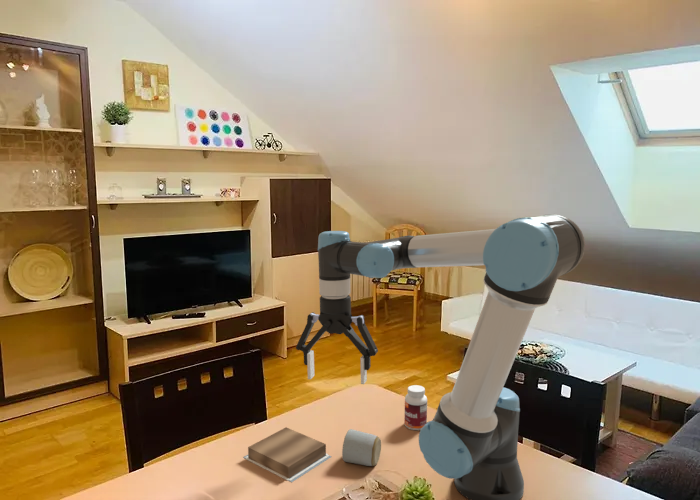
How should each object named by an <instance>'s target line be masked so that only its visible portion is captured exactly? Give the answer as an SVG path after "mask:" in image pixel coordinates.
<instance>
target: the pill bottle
mask: <svg viewBox="0 0 700 500" xmlns="http://www.w3.org/2000/svg"><path fill="white" fill-rule="evenodd" d="M425 393H426V389H425V387H424V386H422V385H417V384H414V385H410V386H408V387H407V394H406V395H405V397H404V419H403V420H404V422H403V423H404V427H405V428H407V429H409V430H412V431H420V430H421V429H422V427H423V426H424V425H425V424H426V423H427V420H428V398H427V395H425Z"/></svg>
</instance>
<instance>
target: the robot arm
mask: <svg viewBox="0 0 700 500" xmlns="http://www.w3.org/2000/svg"><path fill="white" fill-rule="evenodd" d="M317 242H318V243H317V252H318V253H317V255H318V258H317V259H318V277H319V278H318V280H319V282H318V284H319V287H318V288H319V290H318V291H319V295H320V296H319V314H318V313H317V314H316V313H315V311H314V312H312V311H311V313H309V314H307V319H306V324H305V327H304V329H303V330H302V333H301V335H300V337H299V340H298V342H297V344H296V346H295V349H296V350H297V351H301V352H302V353H303V364H304V366H307V380H312V379H313V378H314V377H315V353H314V350H312V349H313V347H314V346H315V345H316V343H317V342H318V341H320V339H321V338H322V336H323V335H324V334H325V333H326V332H327V333H328V334H336V335H342V334H344V335H345V337H347V338H348V339H349V341H350V342H351V343H352V344H353V346H354V347H356V349H357V350H358V351H359V353H360V354H361V355H362V356H360V385H365V383H366V382H367V381H368V380H367V379H368V374H367V373H368V372H367V371H369V370H370V368H371V357H375V356H376V355H377V353H378V352H379V350H378V347H377V345H376V343H375V341H374V339H373V337H372V335H371V333H370V331H369V329H368V326H367V325H366V321H365V316H364V315H363V314H361V315H358V316H353V314H352V301H351V300H352V297H351V296H350V294H351V291H352V290H351V275H356V276H361V277H366V278H369V279H373V278H376V279H383V278H386V277H387V276H388V274H389V273H391V272H392V271H395V270H401V269H414V268H415V269H416V268H417V269H418V268H435V267H436V268H437V267H439V268H441V267H467V266H470V267H473V266H474V267H475V266H478V267H479V266H485V275H484V277H483V282H484V285H485V287H486V288H487V291H488V292H487V295H486V297H485V300H484V303H483V306H482V308H481V310H480V314H479V316H478V319H477V322H476V325H475V328H474V330H473V332H472V333H473V334H472V335H471V338H470V341H469V343H468V346H467V347H468V348H467V350H466V352H465V356H464V358H463V361H462V364H461V365H460V368H459V371H458V374H457V377H456V380H455V381H454V386H453V388H452V390H451V392H447V393H445V394H444V395H442V397H441V398H440V401H439V403H438V406H437V410H436V411H435V415H434V417H433V418H432V420H429V421H428V422H427V423H426V424H425V425H424V426H423V427H422V429H421V430H419V433H418V434H419V435H418V445H419V450H420V452H421V453H422V455H423V458H424V460H425V462H426V463H427V464H428V465H429V467H431V469H432V470H433V471H434V472H436V473H437V474H438V475H440V476H441V477H444V478H447V479H454V485H455V488H456V490H457V491H458V492H459V493H460V495H462V496H463V497H465V498H466V499H468V500H521V499H522V497H523V495H524V492H525V490H524V489H525V482H524V477H523V476H524V475H523V474H522V470H521V467H520V464H519V463H520V462H519V459H518V442H519V440H518V439H519V427H520V426H519V425H520V412H521V408H520V398H519V396H518V395H517V394H516V393H515V391H514V390H511V389H510V388H507V387H504V386H505V384H506V383H507V379H508V376H509V374H510V371H511V370H512V366H513V364H514V362H515V360H516V357H517V354H518V352H519V349H520V346H521V344H522V342H523V340H524V337H525V335H526V332H527V329H528V327H529V325H530V323H531V320H532V317H533V314H534V312H535V310H536V309H537V308H539V307H543V306H545V305H547V304H548V302H549V300H550V298H551V295H552V293H553V290H554V288H555V285H556V283H557V280H558V279H559V277H561V276H564V275H566V274H568V273H570V272H571V271H573V270H574V269H575V268H576V267H577V266H578V265H579V264H580V263H581V261H582V259H583V257H584V254H585V248H586V242H585V236H584V235H583V232H582V230H581V229H580V227H579V226H578V224H576V222H574V221H573V220H572V219H570V218H568V217H565V216H563V215H559V214H555V213H554V214H543V215H538V216H533V217H530V216H529V217H527V216H526V217H518V218H514V219H512V220H510V221H508V222H506V223H503V224H501V225H500V226H498V227H497V228H490V229H478V230H470V231H469V230H468V231H459V232H458V231H456V232H447V233H446V232H445V233H444V232H443V233H433V234H423V235H403V236H402V235H401V236H399V237H393V238H388V239H382V240H374V241H367V242H360V241H352V240H351V238H350V232H348V231H345V230H329V231H328V230H327V231H323V232H321V233H319V235H318V240H317ZM317 321H319V323H320V325H322V326H321V328H320V329H319V330H318V331H317V332H316V333H315V335H314V336H313V337H312V338H311V340H309V342H308V343H307V344H306V342H307V340H308V338H309V336H310V334H311V331H312V329H313V328H314V325H315V323H317ZM352 323H354V326H357V328H358V329H357V330H358V331H359V333H360V335H361V337H359V335H358V334H357V333H356V332H355V330H354V328H353V327H352ZM361 338H362V339H363V340H362V339H361Z"/></svg>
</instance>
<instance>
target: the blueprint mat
mask: <svg viewBox="0 0 700 500" xmlns="http://www.w3.org/2000/svg"><path fill="white" fill-rule="evenodd" d="M242 458H244V459H245V460H247V462H248V461H249V462H251V463H252V464H254V465H256V466H259V467H260V468H262V469H264V470H267V471H269V472H270V473H272V474H275V475H276V476H278V477H280V478H282V479H284V480H286V481H288V482H290V483H293V482H294V481H296V480H298V479H299V478H301V477H302V476H304V475H306V474H307V473H309V472H310V471H312V470H313V469H315V468H316V467H319V466H320V465H321V464H323V463H324V462H326V461H327V460H329V459H331V458H332V456H331V455H329V454H328V453H327V452H326V456H324V457H322V458H321V459H319V460H318V461H316V462H315V463H313V464H311V465H310V466H308V467H307V468H305V469H303V470H302V471H300V472H299V473H297V474H296V475H294V476H292V477H291V478H287V477H285V476H283V475H281V474H279V473H277V472H275V471H273V470H271V469H269V468H267V467H265V466H263V465H261V464H259V463H257V462H255V461H253V460H251V459H249V458H248V454H246V455H244V456H243V457H242Z"/></svg>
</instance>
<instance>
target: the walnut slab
mask: <svg viewBox="0 0 700 500" xmlns="http://www.w3.org/2000/svg"><path fill="white" fill-rule="evenodd" d="M326 445H327V444H326V443H324V442H322V441H319V440H318V439H315V438H313V437H310V436H308V435H305V434H303V433H300V432H299V431H296V430H295V429H292V428H289V427H287V426H286V427H284V428H282V429H280V430H278V431H276V432H274V433H273V434H270V435H269V436H267V437H265V438H263V439H261V440H260V441H257V442H255V443H254V444H251V445H250V446H248V447H247V452H248V454H247V455H248V458H249V459H251V460H253V461H255V462H257V463H259V464H261V465H263V466H265V467H267V468H269V469H271V470H273V471H275V472H277V473H279V474H281V475H283V476H285V477H287V478H291V477H292V476H294V475H296V474H297V473H299V472H300V471H302V470H303V469H305V468H307V467H308V466H310V465H311V464H313V463H315V462H316V461H318V460H319V459H321V458H322V457H324V456H326V453H327V446H326Z"/></svg>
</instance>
